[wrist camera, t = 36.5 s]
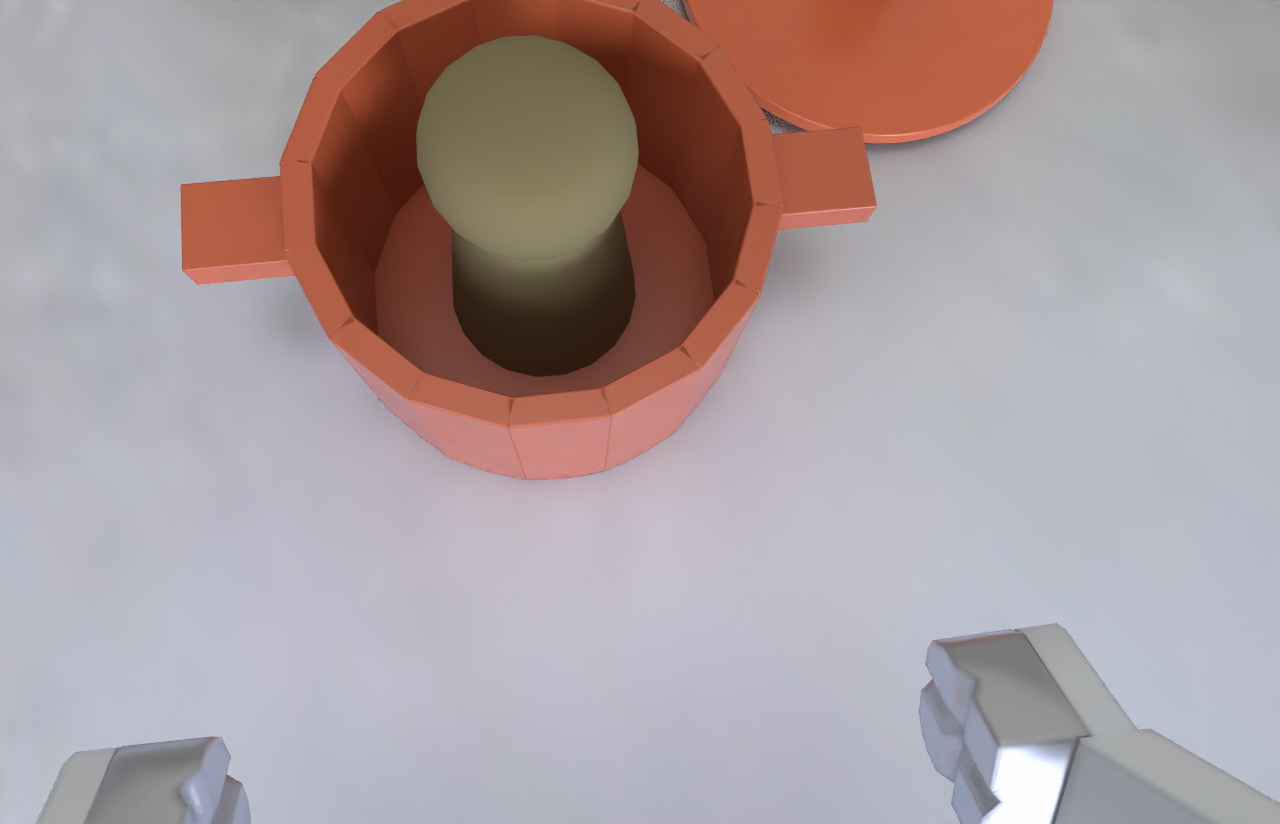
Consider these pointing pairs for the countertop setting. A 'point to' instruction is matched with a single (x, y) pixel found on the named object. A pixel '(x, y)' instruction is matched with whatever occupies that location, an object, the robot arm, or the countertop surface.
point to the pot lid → (877, 59)
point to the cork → (533, 200)
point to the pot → (422, 239)
